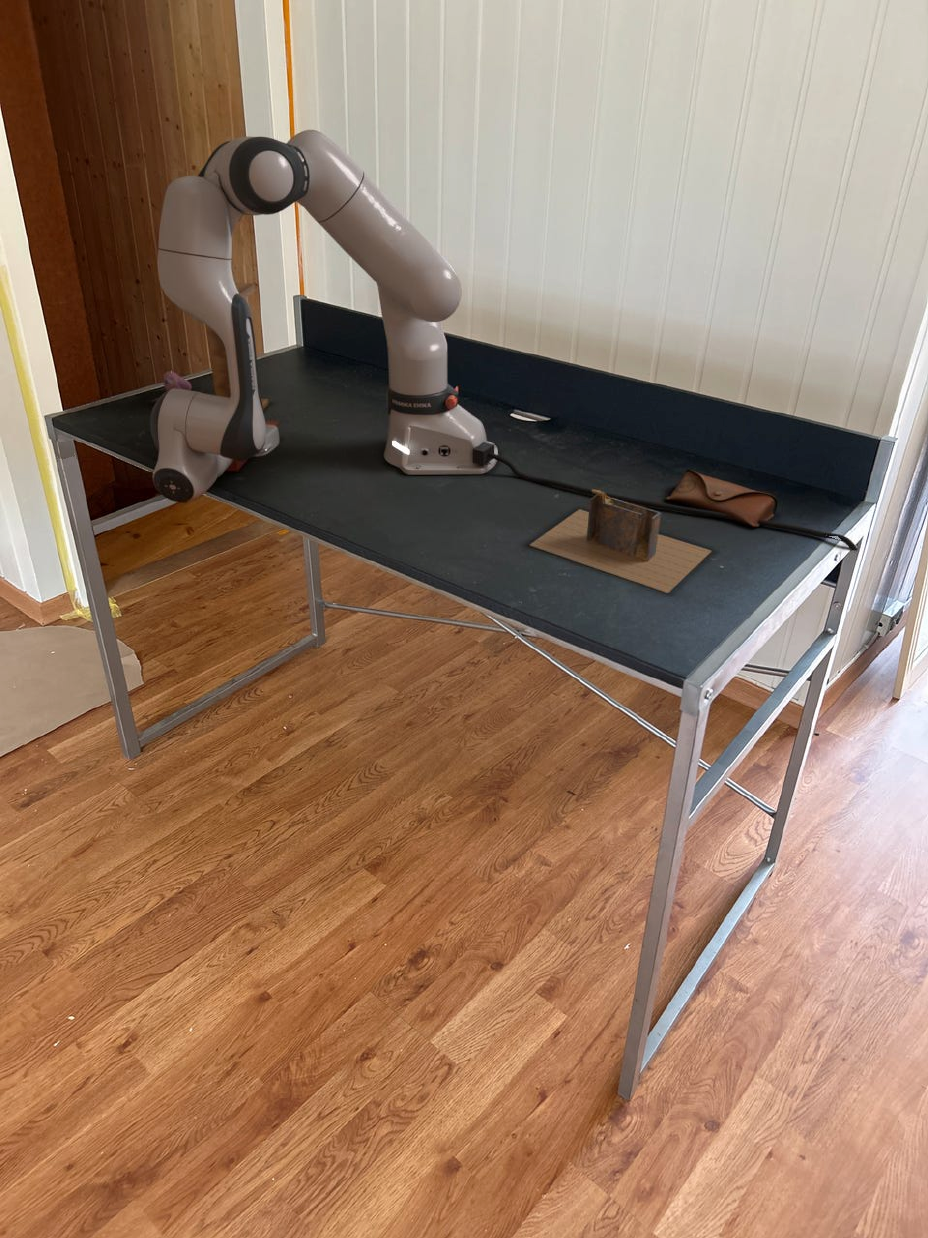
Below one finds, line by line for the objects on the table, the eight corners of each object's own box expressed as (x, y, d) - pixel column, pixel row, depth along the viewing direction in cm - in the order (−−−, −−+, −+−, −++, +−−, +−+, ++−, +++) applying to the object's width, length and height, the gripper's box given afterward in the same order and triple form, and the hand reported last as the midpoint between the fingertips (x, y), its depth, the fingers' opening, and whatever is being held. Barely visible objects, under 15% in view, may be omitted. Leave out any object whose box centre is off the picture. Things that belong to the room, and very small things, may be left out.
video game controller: (176, 397, 212) (157, 372, 208) (193, 387, 212) (174, 361, 208) (178, 412, 205) (159, 386, 200) (196, 401, 204) (176, 375, 200)
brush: (279, 439, 188) (277, 421, 186) (250, 472, 175) (248, 453, 173) (242, 436, 189) (240, 418, 187) (211, 469, 176) (208, 450, 174)
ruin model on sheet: (529, 545, 151) (531, 491, 146) (579, 509, 163) (583, 457, 157) (667, 593, 139) (676, 536, 134) (712, 550, 150) (721, 496, 145)
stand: (268, 404, 205) (254, 283, 191) (255, 418, 198) (239, 293, 183) (217, 400, 207) (199, 280, 192) (202, 414, 199) (182, 291, 185)
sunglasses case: (662, 498, 165) (675, 462, 164) (675, 504, 171) (688, 470, 170) (757, 528, 156) (772, 490, 155) (767, 534, 162) (782, 497, 161)
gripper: (263, 436, 162) (288, 408, 173) (154, 428, 164) (185, 401, 176) (267, 469, 165) (291, 439, 177) (160, 461, 168) (191, 432, 179)
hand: (238, 420), depth 176 cm, fingers open, 7 cm apart
